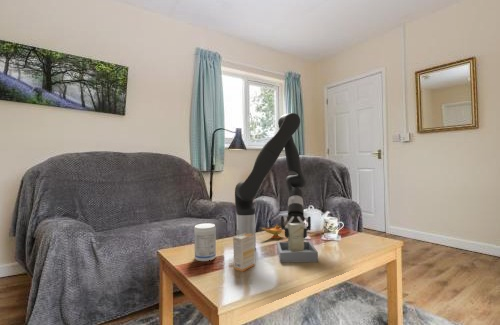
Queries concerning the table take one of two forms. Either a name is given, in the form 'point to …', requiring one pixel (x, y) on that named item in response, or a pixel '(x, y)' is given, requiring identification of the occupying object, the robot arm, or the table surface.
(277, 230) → the magic lamp
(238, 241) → the supplement box
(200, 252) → the supplement tub
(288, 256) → the bin
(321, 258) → the table surface
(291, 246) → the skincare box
